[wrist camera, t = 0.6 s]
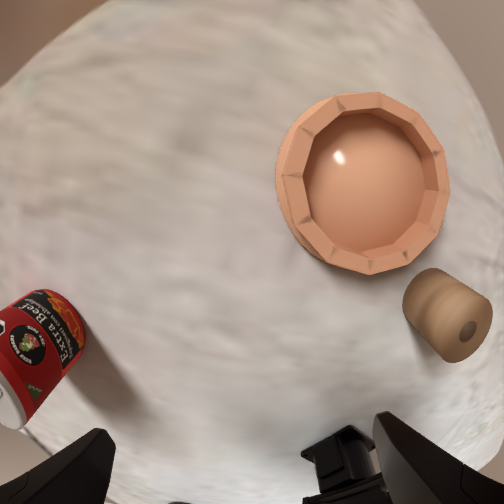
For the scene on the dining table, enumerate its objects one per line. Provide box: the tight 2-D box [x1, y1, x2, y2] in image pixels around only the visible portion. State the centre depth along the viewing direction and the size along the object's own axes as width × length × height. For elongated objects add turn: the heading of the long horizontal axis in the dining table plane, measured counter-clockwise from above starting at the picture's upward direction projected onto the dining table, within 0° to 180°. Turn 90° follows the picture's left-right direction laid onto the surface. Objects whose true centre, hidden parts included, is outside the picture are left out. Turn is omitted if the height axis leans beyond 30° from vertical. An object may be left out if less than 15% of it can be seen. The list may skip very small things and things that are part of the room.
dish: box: [275, 92, 450, 275], centre depth 17 cm, size 12×12×3 cm
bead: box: [402, 268, 493, 363], centre depth 17 cm, size 5×5×6 cm
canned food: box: [0, 289, 85, 430], centre depth 16 cm, size 8×8×11 cm
